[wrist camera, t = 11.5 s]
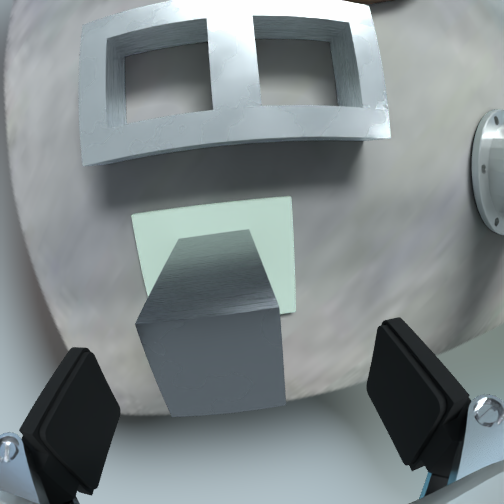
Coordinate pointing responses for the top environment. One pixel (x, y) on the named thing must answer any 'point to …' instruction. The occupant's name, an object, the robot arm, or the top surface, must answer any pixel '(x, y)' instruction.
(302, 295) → the top surface
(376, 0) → the trivet
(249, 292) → the zinc peg
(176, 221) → the sage pad
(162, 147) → the grey cinder block
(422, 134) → the top surface
